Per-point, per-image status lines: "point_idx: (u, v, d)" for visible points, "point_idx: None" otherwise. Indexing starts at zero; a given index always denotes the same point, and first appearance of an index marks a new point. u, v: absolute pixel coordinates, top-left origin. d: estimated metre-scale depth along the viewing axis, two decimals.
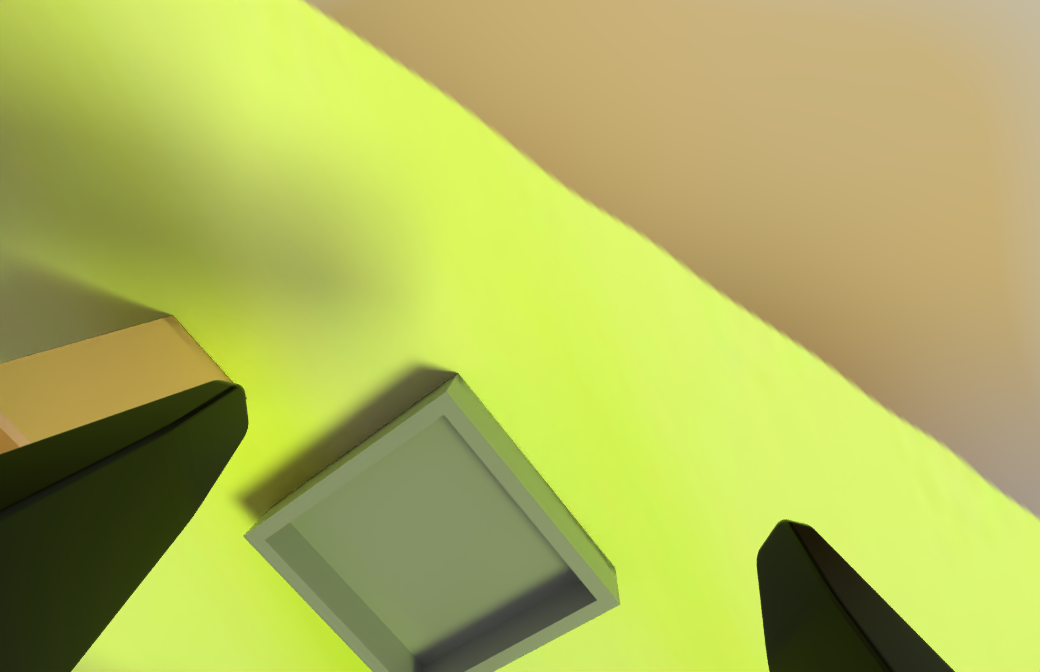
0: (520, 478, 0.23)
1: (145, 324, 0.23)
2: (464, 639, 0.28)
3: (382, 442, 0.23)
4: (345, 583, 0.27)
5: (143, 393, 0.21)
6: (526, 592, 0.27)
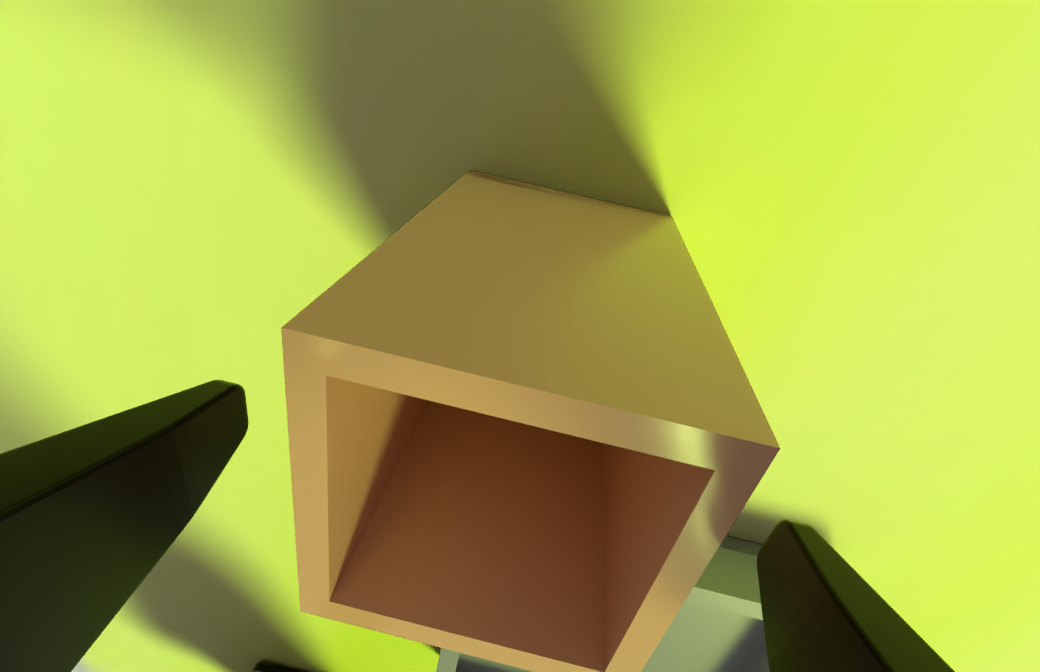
0: None
1: None
2: None
3: (742, 603, 0.16)
4: None
5: None
6: None
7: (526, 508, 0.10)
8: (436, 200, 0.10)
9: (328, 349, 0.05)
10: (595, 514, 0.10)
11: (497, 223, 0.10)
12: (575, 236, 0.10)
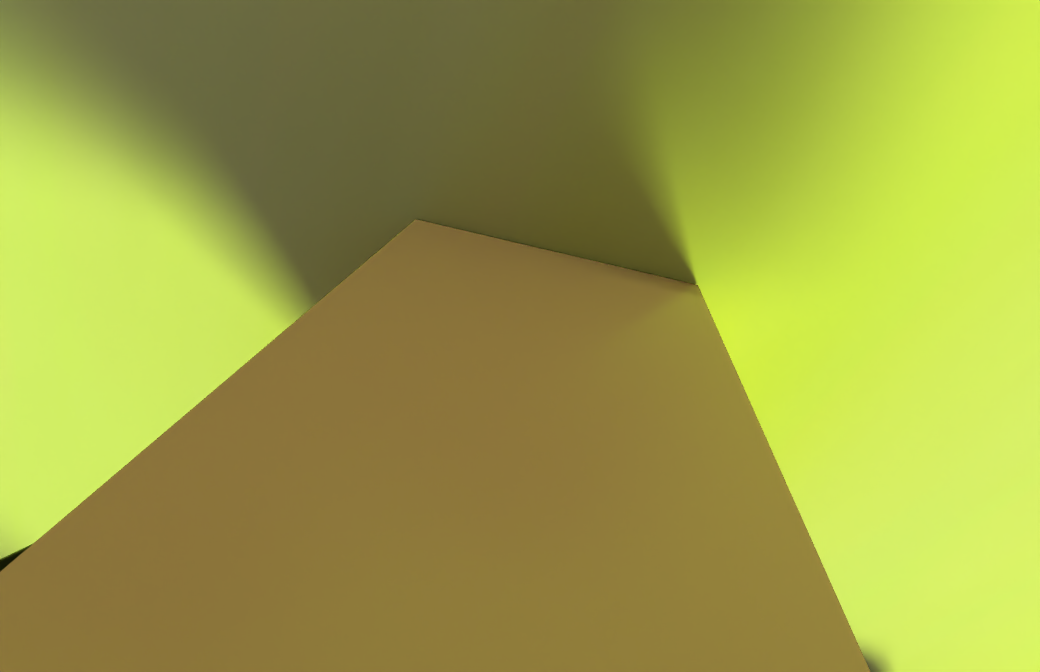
0: None
1: None
2: None
3: None
4: None
5: None
6: None
7: None
8: (339, 287, 0.07)
9: None
10: None
11: (430, 331, 0.06)
12: (556, 349, 0.06)
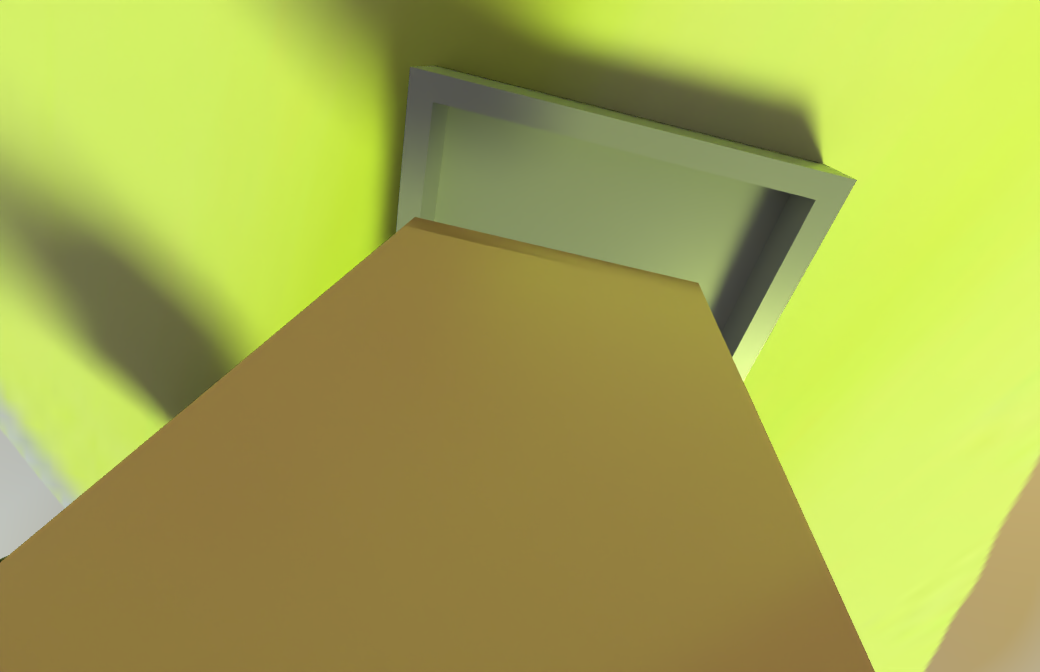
0: None
1: (716, 329, 0.08)
2: None
3: (717, 153, 0.15)
4: None
5: None
6: None
7: None
8: (337, 284, 0.06)
9: None
10: None
11: (430, 328, 0.06)
12: (556, 346, 0.06)
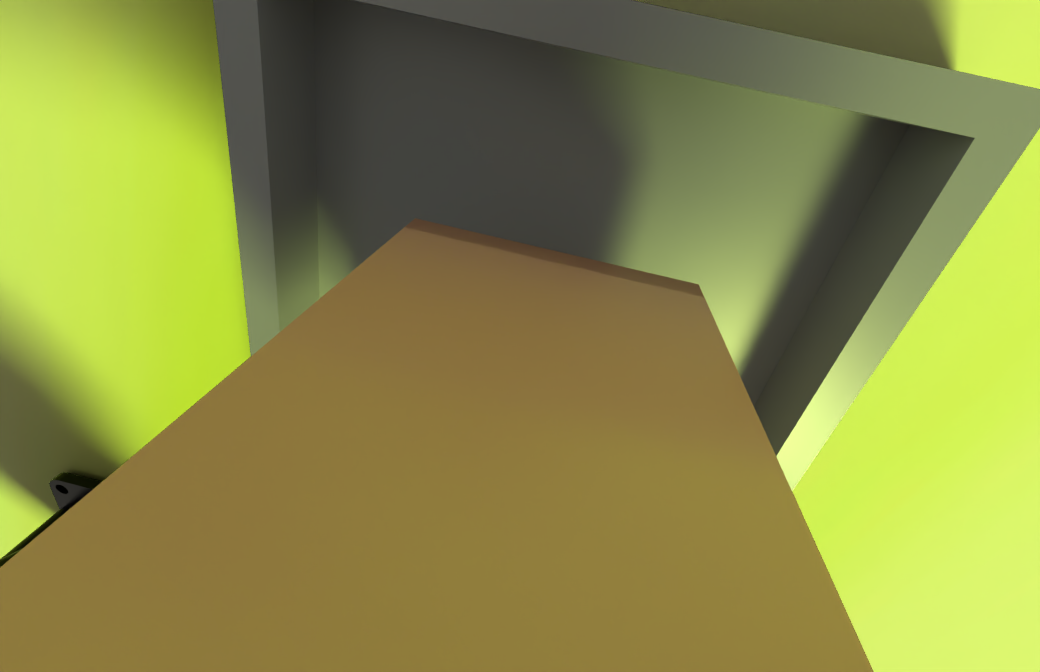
0: None
1: None
2: None
3: (788, 53, 0.08)
4: (316, 233, 0.12)
5: None
6: None
7: None
8: (337, 286, 0.06)
9: None
10: None
11: (429, 330, 0.06)
12: (556, 348, 0.06)
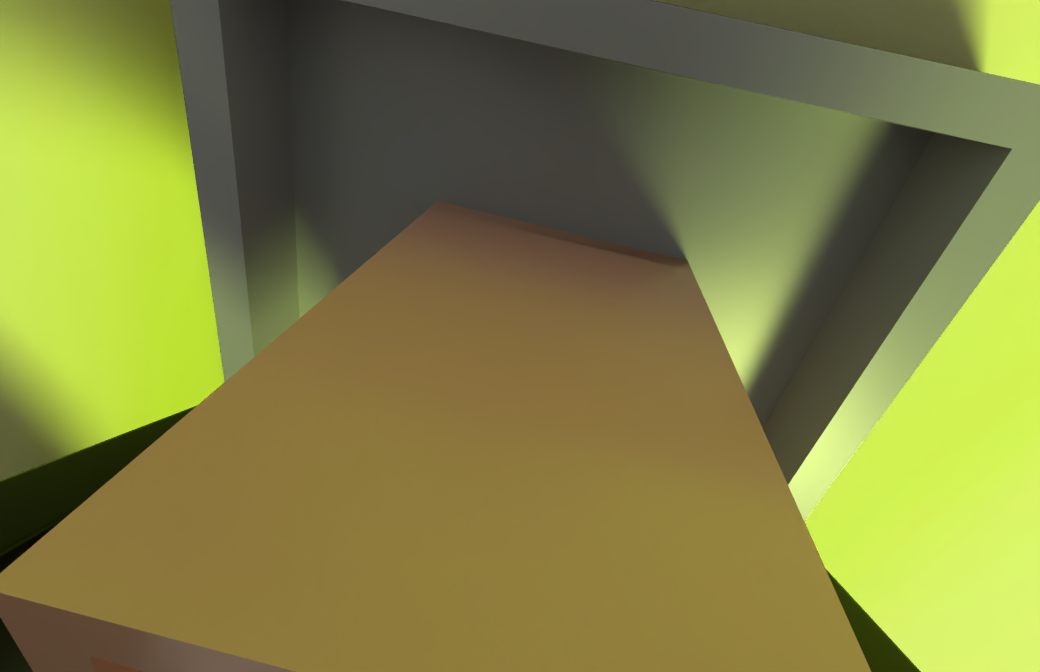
0: None
1: None
2: None
3: (806, 54, 0.07)
4: (294, 246, 0.11)
5: None
6: None
7: None
8: (381, 252, 0.08)
9: (78, 625, 0.03)
10: None
11: (460, 287, 0.07)
12: (565, 304, 0.07)
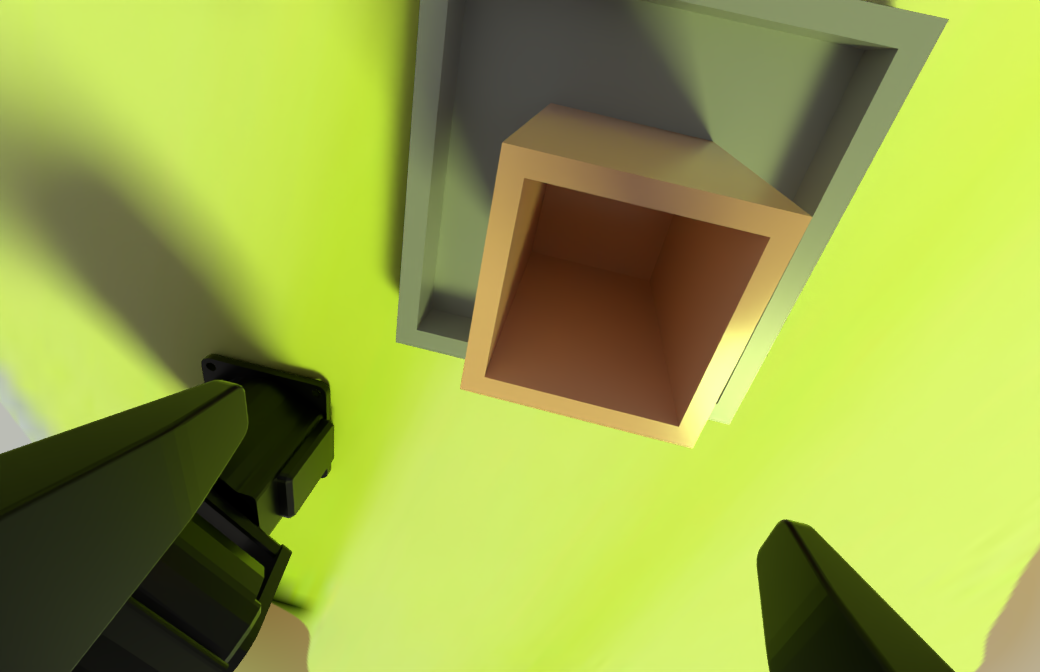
0: None
1: None
2: None
3: None
4: (449, 138, 0.17)
5: None
6: None
7: (607, 346, 0.13)
8: (541, 112, 0.13)
9: (530, 157, 0.09)
10: (658, 353, 0.14)
11: (590, 126, 0.13)
12: (648, 139, 0.13)
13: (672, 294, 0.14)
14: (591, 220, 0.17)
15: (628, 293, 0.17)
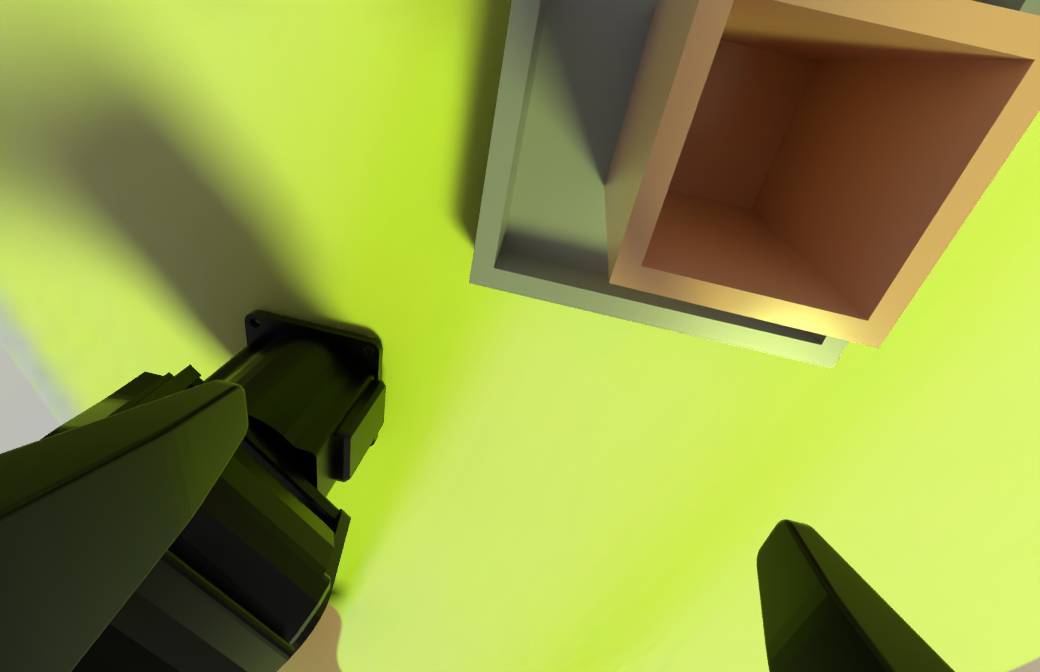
0: None
1: None
2: (585, 262, 0.19)
3: None
4: (538, 51, 0.16)
5: None
6: None
7: (747, 253, 0.12)
8: None
9: None
10: (802, 263, 0.12)
11: None
12: None
13: (807, 202, 0.13)
14: (692, 140, 0.16)
15: (738, 216, 0.15)
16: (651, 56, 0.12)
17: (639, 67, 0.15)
